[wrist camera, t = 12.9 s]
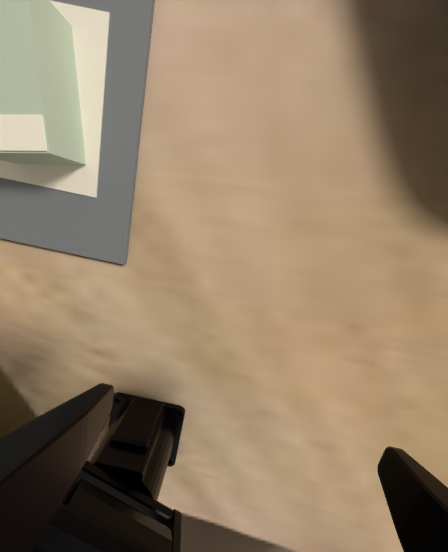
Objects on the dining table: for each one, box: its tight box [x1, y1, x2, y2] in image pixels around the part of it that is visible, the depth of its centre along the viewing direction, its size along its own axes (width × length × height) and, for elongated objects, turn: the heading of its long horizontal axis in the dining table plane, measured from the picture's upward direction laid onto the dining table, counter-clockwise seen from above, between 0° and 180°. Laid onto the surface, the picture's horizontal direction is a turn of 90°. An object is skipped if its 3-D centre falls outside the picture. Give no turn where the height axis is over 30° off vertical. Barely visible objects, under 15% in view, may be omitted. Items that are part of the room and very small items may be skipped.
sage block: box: [0, 0, 86, 165], centre depth 15 cm, size 5×8×4 cm, turn 179°
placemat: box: [0, 0, 155, 265], centre depth 17 cm, size 20×13×1 cm, turn 168°
